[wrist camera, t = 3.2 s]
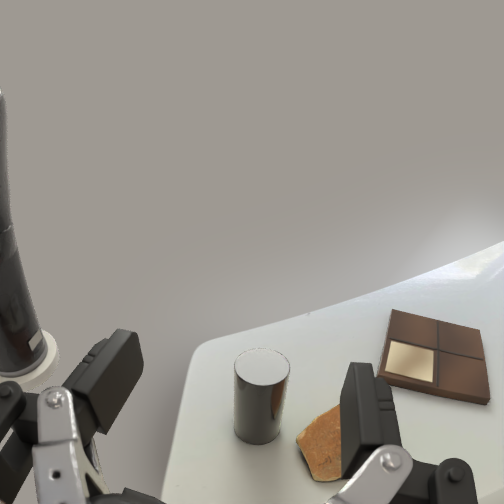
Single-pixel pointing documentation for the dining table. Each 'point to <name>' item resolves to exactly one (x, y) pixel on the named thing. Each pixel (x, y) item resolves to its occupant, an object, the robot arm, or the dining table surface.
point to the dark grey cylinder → (259, 394)
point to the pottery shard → (323, 445)
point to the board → (434, 358)
